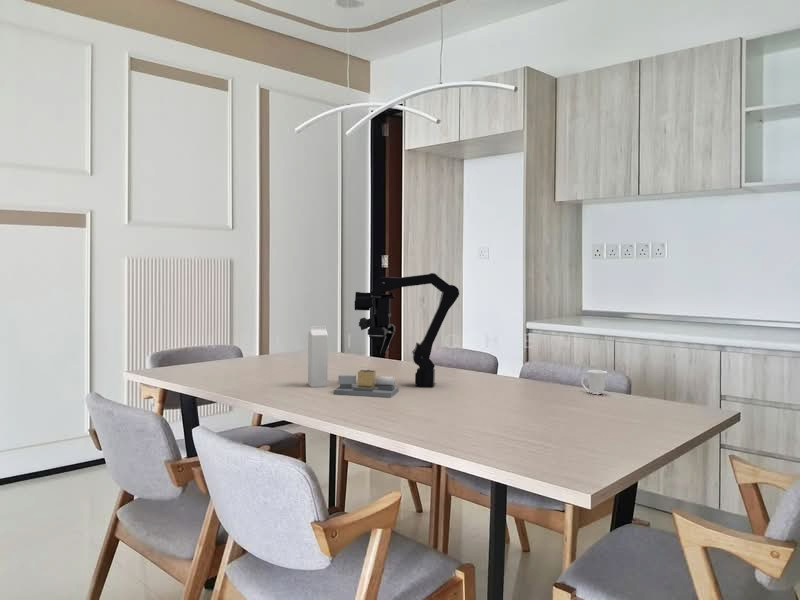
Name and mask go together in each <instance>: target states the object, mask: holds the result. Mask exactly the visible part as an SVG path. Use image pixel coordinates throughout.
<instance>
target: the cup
mask: <svg viewBox="0 0 800 600" xmlns="http://www.w3.org/2000/svg"><path fill="white" fill-rule="evenodd" d="M608 373H609V372H608V371H605V370H600V369H591V370H590V369H589V370H587V371H586V372H584V373H582V375H581V379H580V381H581V382H580V384H581V386H582V387H583V389H585V391H586V392H588V393H589V392H601V393H602V394H603V395H604V393H603V392H604V391H605V388H606V384H607V377H608ZM586 375H587V380H588V386H589V389H588V388H587V386H585V384H584V377H585V376H586ZM592 394H594V393H592ZM592 394H591V395H592Z"/></svg>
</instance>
